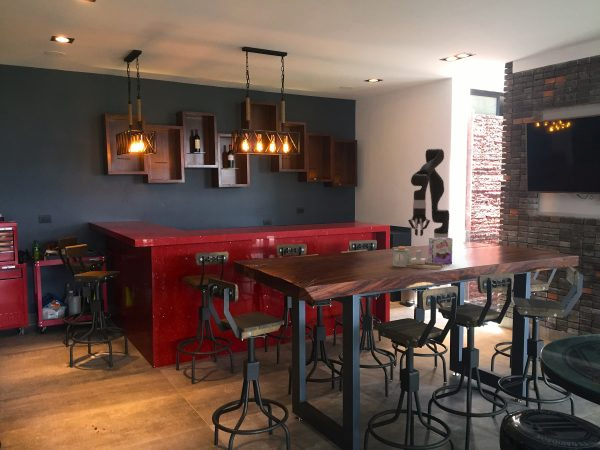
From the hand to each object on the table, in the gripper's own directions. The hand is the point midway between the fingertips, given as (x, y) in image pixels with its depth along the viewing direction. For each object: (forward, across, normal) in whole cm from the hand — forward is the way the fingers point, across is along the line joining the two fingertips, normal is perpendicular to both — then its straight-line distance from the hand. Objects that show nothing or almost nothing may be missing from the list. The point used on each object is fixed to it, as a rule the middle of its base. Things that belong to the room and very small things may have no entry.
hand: (418, 235), depth 308 cm
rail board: (+19, -4, 0) cm, 19 cm away
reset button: (+12, +11, 0) cm, 16 cm away
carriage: (+17, 0, 0) cm, 17 cm away
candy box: (+19, -10, -18) cm, 28 cm away
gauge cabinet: (+19, +10, 0) cm, 22 cm away
